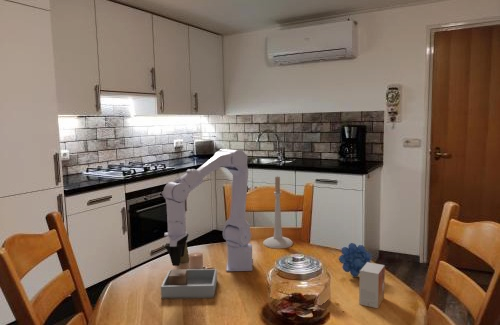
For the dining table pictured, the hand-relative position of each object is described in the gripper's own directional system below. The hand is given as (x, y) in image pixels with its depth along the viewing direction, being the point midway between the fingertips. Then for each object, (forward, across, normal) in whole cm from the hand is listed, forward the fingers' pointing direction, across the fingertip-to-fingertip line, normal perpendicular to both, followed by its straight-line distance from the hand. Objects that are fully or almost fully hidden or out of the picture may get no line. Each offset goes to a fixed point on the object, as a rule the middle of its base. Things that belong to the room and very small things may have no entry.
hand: (178, 260), depth 127 cm
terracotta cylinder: (+10, -12, +4) cm, 16 cm away
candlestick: (+10, -43, +35) cm, 57 cm away
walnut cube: (+9, 0, 0) cm, 9 cm away
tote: (+10, 0, +4) cm, 10 cm away
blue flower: (+10, -6, +59) cm, 61 cm away
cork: (+10, -25, -4) cm, 27 cm away
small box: (+10, +11, +59) cm, 61 cm away
